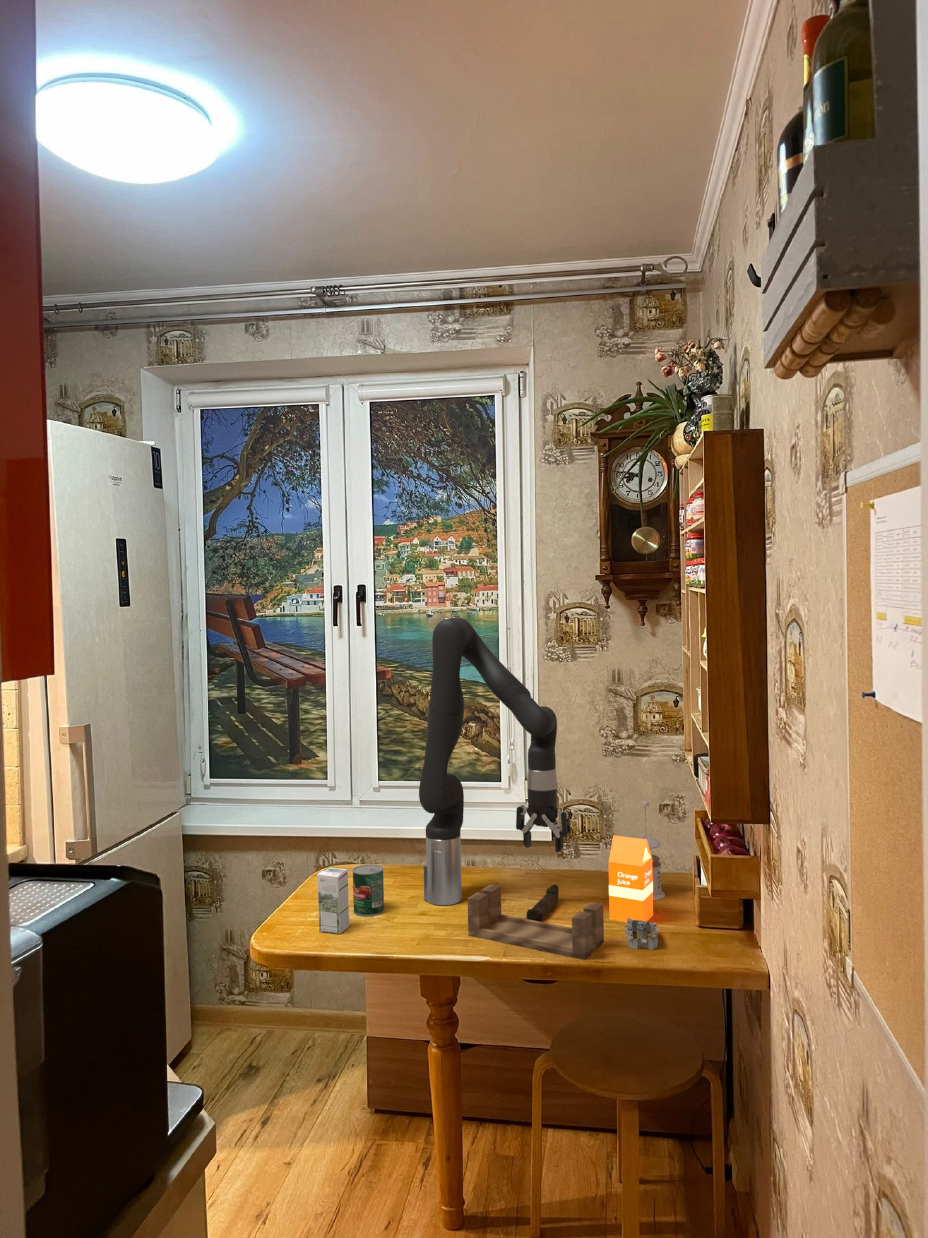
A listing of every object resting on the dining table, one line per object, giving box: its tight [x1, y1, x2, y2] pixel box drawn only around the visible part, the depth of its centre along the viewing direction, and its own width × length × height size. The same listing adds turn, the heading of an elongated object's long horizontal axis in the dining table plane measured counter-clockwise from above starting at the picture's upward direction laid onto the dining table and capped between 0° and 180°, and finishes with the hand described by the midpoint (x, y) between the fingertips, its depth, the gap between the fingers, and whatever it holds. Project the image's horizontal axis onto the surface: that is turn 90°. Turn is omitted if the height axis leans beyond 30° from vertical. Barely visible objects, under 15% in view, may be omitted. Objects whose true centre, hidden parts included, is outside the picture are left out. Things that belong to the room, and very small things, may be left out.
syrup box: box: [316, 867, 350, 935], centre depth 220 cm, size 6×6×14 cm
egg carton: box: [624, 918, 659, 951], centre depth 209 cm, size 11×8×4 cm
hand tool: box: [526, 884, 560, 922], centre depth 229 cm, size 19×4×5 cm, turn 154°
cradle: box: [467, 884, 605, 961], centre depth 211 cm, size 30×11×9 cm, turn 59°
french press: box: [637, 800, 666, 901], centre depth 239 cm, size 10×12×25 cm
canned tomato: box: [352, 863, 385, 918], centre depth 232 cm, size 8×8×11 cm
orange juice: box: [608, 835, 654, 923], centre depth 223 cm, size 8×9×20 cm
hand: (543, 849), depth 229 cm, fingers open, 8 cm apart
